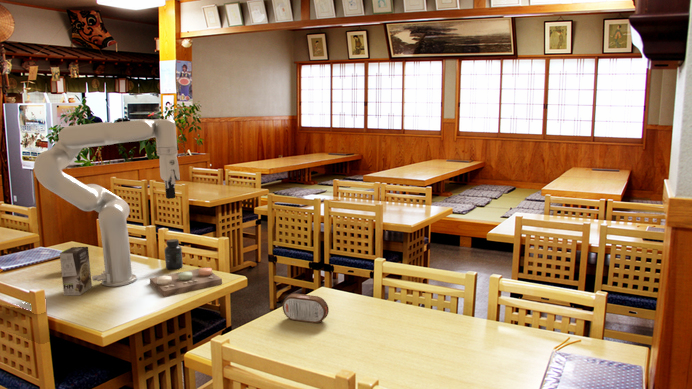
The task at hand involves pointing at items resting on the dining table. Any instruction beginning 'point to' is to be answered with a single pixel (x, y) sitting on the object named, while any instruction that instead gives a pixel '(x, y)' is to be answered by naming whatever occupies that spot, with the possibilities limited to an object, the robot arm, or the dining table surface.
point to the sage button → (185, 276)
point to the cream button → (164, 280)
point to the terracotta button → (205, 271)
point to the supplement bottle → (173, 255)
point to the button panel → (186, 283)
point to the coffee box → (75, 270)
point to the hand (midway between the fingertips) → (170, 198)
